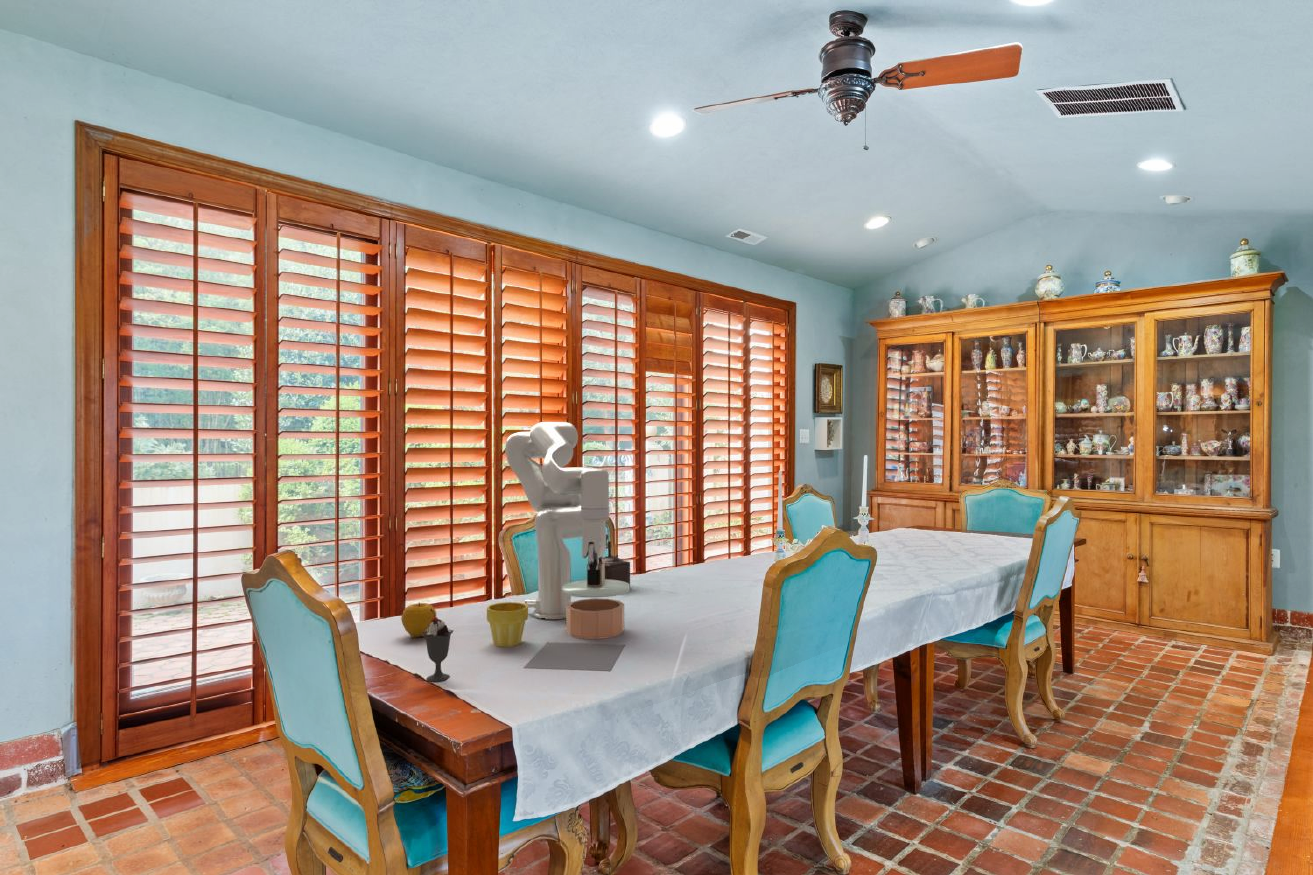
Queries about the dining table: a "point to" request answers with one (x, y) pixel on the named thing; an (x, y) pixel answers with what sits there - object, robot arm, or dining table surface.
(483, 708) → the dining table surface
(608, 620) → the bowl
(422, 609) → the apple
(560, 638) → the dining table surface
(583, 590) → the lid
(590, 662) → the mat
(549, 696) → the dining table surface
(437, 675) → the sundae
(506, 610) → the plant pot
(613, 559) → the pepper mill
